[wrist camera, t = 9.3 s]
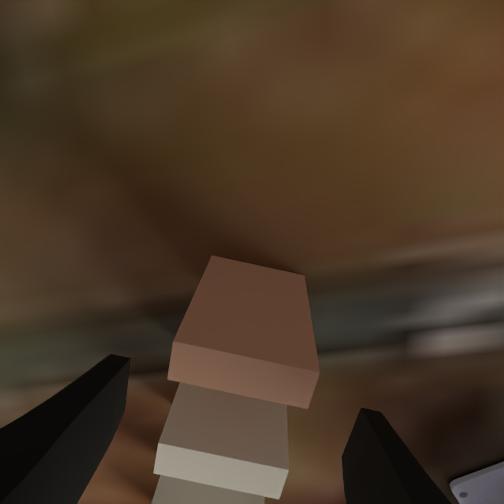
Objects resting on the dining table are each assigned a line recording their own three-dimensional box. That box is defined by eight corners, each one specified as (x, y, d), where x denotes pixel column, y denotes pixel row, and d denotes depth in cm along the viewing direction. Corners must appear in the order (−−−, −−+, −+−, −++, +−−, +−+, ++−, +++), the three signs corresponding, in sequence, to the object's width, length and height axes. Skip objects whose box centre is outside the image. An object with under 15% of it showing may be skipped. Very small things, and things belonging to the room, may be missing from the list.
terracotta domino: (297, 301, 21) (307, 409, 13) (206, 282, 21) (167, 379, 13) (304, 275, 20) (320, 372, 13) (211, 255, 20) (173, 340, 13)
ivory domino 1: (278, 369, 22) (279, 499, 15) (194, 351, 22) (153, 473, 15) (284, 346, 22) (288, 470, 14) (198, 328, 22) (158, 442, 14)
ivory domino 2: (261, 427, 24) (254, 571, 17) (183, 411, 24) (141, 547, 17) (267, 407, 24) (262, 547, 16) (187, 390, 23) (144, 523, 16)
